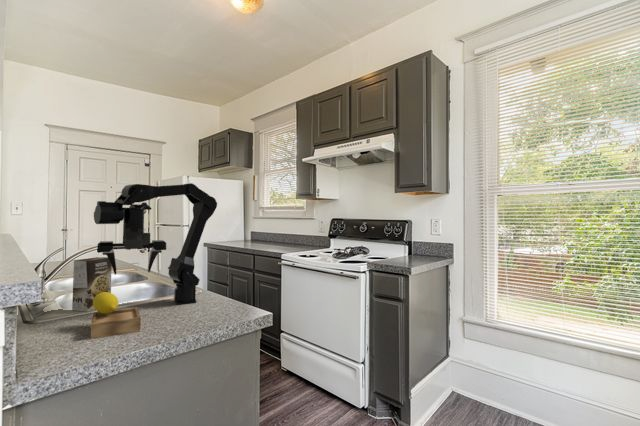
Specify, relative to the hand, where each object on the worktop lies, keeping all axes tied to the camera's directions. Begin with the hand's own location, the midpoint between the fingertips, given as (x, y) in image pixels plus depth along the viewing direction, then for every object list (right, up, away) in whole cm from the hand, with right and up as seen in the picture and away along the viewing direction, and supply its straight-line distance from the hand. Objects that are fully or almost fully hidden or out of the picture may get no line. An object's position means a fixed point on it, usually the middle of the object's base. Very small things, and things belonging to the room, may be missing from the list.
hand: (132, 273), depth 106 cm
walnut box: (+4, -13, -14) cm, 20 cm away
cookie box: (-16, -12, +5) cm, 21 cm away
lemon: (+3, -7, -14) cm, 16 cm away
